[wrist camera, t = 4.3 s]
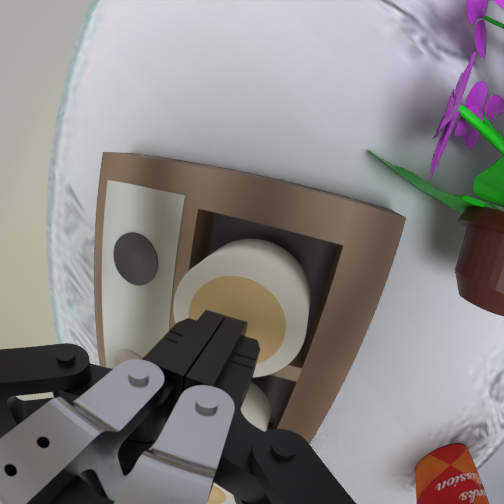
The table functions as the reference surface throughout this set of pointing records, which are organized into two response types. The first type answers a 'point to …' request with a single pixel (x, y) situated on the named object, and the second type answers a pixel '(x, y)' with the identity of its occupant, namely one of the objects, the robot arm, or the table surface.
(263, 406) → the button mid
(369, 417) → the table surface
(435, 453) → the paper cup
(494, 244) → the purple flower sprig
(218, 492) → the button
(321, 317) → the wooden candle tray
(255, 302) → the button
